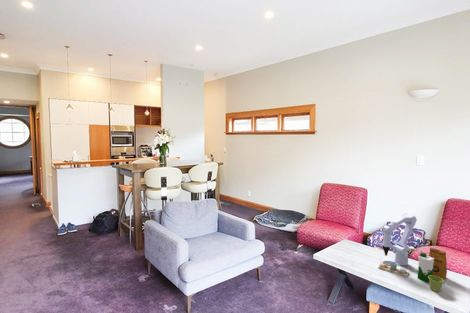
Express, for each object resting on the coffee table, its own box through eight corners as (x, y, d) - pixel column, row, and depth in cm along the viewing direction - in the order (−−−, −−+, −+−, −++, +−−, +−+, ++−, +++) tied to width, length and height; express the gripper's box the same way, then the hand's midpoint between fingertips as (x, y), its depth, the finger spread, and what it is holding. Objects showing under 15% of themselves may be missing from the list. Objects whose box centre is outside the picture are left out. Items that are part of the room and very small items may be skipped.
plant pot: (424, 286, 203) (424, 275, 203) (435, 286, 204) (436, 275, 204) (434, 293, 194) (435, 282, 194) (446, 293, 195) (447, 281, 194)
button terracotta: (387, 267, 232) (387, 264, 231) (386, 269, 229) (386, 265, 228) (381, 266, 234) (382, 262, 234) (380, 267, 231) (380, 264, 231)
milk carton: (421, 275, 220) (423, 251, 219) (434, 280, 212) (436, 255, 211) (415, 277, 216) (417, 253, 215) (427, 283, 208) (429, 258, 207)
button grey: (396, 269, 227) (396, 265, 227) (395, 270, 224) (395, 267, 224) (391, 267, 230) (391, 264, 229) (390, 269, 227) (390, 265, 226)
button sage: (406, 273, 223) (406, 269, 222) (405, 275, 220) (405, 271, 219) (400, 271, 225) (400, 268, 225) (399, 273, 222) (400, 269, 222)
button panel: (408, 273, 223) (408, 271, 223) (407, 277, 217) (407, 275, 217) (380, 265, 237) (380, 263, 237) (378, 268, 231) (378, 266, 231)
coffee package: (443, 281, 211) (445, 253, 210) (425, 274, 222) (427, 248, 220) (448, 278, 217) (450, 251, 215) (430, 271, 227) (432, 245, 226)
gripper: (376, 238, 236) (375, 254, 237) (395, 243, 227) (394, 259, 228) (378, 236, 241) (377, 251, 242) (397, 241, 232) (396, 256, 233)
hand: (386, 255), depth 235 cm, fingers closed
